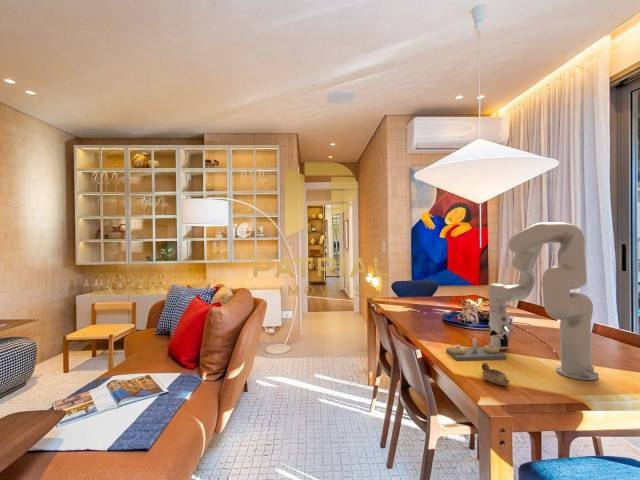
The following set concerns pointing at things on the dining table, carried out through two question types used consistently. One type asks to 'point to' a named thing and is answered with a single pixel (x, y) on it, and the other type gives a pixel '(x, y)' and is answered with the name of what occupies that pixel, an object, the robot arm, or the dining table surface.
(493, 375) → the brown duck figurine
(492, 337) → the loose gear
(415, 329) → the dining table surface
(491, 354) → the gear board
